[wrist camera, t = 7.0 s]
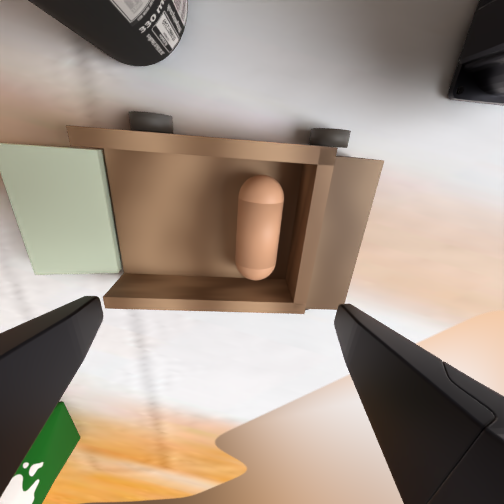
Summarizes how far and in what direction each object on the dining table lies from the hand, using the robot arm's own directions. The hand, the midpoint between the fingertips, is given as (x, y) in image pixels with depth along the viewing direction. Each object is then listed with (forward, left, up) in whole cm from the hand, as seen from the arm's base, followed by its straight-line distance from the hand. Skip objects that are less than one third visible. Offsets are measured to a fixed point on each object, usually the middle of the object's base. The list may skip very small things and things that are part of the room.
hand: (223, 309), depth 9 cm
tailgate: (+9, 0, -11) cm, 14 cm away
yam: (-2, 0, -11) cm, 11 cm away
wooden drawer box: (0, 0, -12) cm, 12 cm away
